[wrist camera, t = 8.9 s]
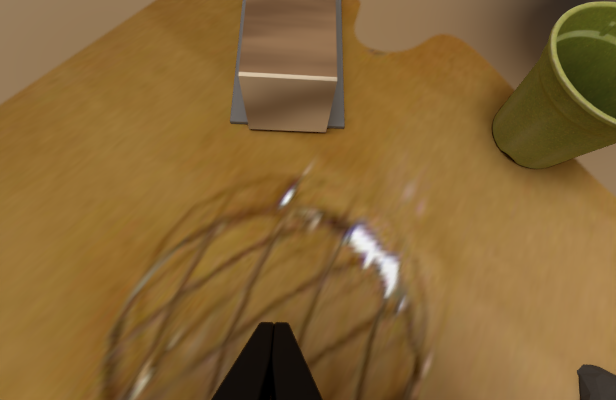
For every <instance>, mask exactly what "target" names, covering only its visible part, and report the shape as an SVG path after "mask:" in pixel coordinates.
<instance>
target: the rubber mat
mask: <svg viewBox="0 0 616 400" xmlns="http://www.w3.org/2000/svg"><path fill="white" fill-rule="evenodd" d="M245 5H246V0H243V5H242V14H241V24H240V33H239V42H238V52H237V61H236V71H235V80H234V90H233V99H232V108H231V118H230V123H232V124H248V121H247V116H246V111H245V106H244V101H243V96H242V91H241V87H240V82H239V77H238V74H239V64H240V54H241V45H242V35H243V25H244V15H245ZM336 42H337V85H336V89H335V94H334V98H333V103H332V107H331V112H330V116H329V121H328V125H327V128H341V129H344V91H343V54H342V17H341V0H336Z"/></svg>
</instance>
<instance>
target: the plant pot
mask: <svg viewBox="0 0 616 400" xmlns="http://www.w3.org/2000/svg"><path fill="white" fill-rule="evenodd" d="M493 135H494V139H495V141H496V143H497V145H498V147H499V148H500V150H502V151H503V152H505V153H507V154H508V155H509V156H510V157H511V158H512V159H513V160H514V161H515V162H516V163H517V164H519V165H521V166H524V167H528V168H534V169H540V168H547V167H550V166H553V165H556V164H559V163H562V162H564V161H567V160H569V159H572V158H575V157H578V156H580V155H583V154H586V153H589V152H592V151H595V150H597V149H600V148H603V147H606V146H609V145H612V144H615V143H616V2H590V3H585V4H583V5H579V6H576V7H574V8H572V9H571V10H569V11H567V12H566V13H565V14H564V15H562V17H561V18H560V19H559V20H558V21H557V22H556V24H555V25H554V27H553V29H552V31H551V33H550V36H549V40H548V43H547V45H546V46H545V48H544V50H543V52H542V54H541V58H540V59H539V61H538V62H537V63H536V65H535V66H534V67H533V68H532V70H531V71H530V72H529V74H528V75H527V76H526V77H525V79H524V80H523V81H522V82H521V84H520V85H519V86H518V87H517V89H516V90H515V91H514V92H513V94H512V95H511V96H510V97H509V99H508V100H507V101H506V102H505V104H504V105H503V106H502V108H501V109H500V110H499V111H498V113H497V114H496V116H495V118H494V121H493Z"/></svg>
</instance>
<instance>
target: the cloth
mask: <svg viewBox="0 0 616 400" xmlns="http://www.w3.org/2000/svg"><path fill="white" fill-rule="evenodd" d="M577 374H578V376H579V392H580V396H581V400H616V375H614V374H612V373H610V372H608V371H606V370H604V369H602V368H600V367H597V366H593V365H582V366H581V368H580V369H579V370H577Z"/></svg>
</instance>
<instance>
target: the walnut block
mask: <svg viewBox="0 0 616 400" xmlns="http://www.w3.org/2000/svg"><path fill="white" fill-rule="evenodd" d="M238 77H239V82H240V87H241V91H242V96H243V101H244V106H245V111H246V116H247V121H248V126H249V129H263V130H285V131H307V132H326V130H327V125H328V121H329V116H330V112H331V107H332V103H333V98H334V94H335V89H336V85H337V42H336V0H246V5H245V15H244V25H243V35H242V45H241V54H240V64H239V74H238Z"/></svg>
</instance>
